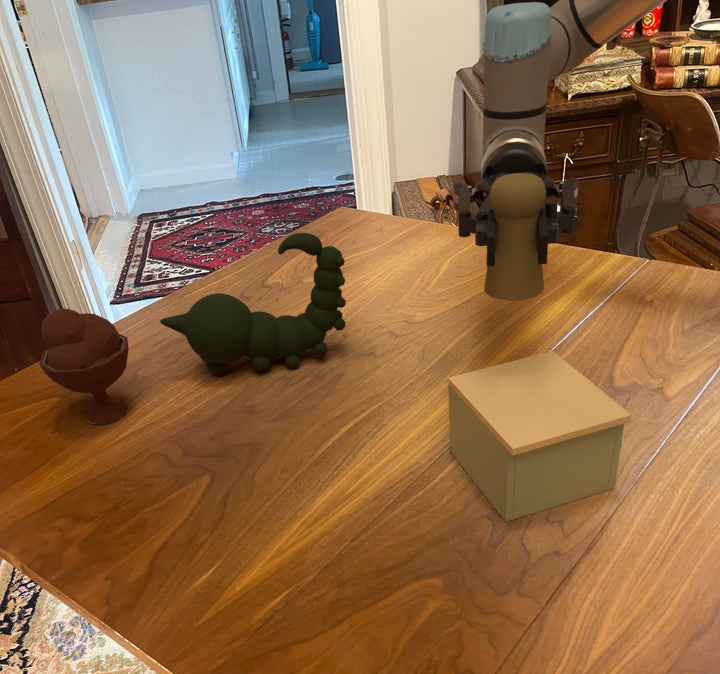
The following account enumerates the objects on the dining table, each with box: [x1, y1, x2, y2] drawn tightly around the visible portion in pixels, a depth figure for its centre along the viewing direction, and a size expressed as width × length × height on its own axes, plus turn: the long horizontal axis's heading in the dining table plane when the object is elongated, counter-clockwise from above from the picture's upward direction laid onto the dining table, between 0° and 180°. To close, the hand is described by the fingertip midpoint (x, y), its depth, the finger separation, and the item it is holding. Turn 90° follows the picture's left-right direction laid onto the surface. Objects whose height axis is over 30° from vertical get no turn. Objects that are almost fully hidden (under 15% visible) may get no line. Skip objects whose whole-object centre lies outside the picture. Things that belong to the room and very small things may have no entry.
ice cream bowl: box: [38, 308, 130, 425], centre depth 93 cm, size 11×11×15 cm
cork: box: [483, 173, 546, 302], centre depth 71 cm, size 6×6×11 cm
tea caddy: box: [448, 384, 625, 522], centre depth 78 cm, size 14×13×9 cm
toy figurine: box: [159, 232, 347, 376], centre depth 99 cm, size 9×19×25 cm
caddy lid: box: [447, 350, 632, 455], centre depth 74 cm, size 14×13×1 cm
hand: (517, 250), depth 67 cm, fingers closed on cork, 4 cm apart
